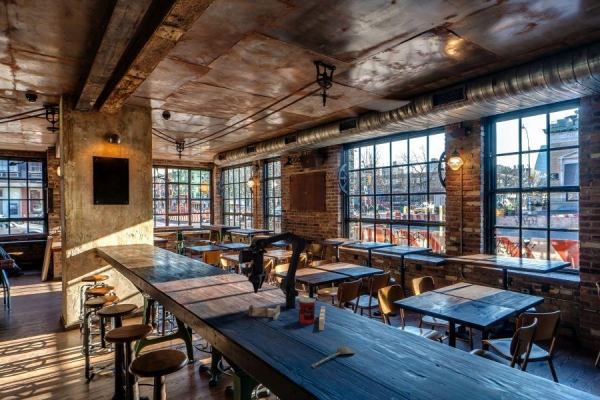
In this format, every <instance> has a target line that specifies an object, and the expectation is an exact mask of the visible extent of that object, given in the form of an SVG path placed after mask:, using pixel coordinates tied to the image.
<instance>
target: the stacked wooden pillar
mask: <svg viewBox="0 0 600 400" xmlns="http://www.w3.org/2000/svg"><path fill="white" fill-rule="evenodd" d="M280 313H281V305H280V304H279V305H278V304H277V306H276V307H275V308H269V305H266V307H265V308H264V307H254V304H250V305H249V307H248V317H263V318H264V317H265V318H273V319H272V320H273V321H277V319H278V318H279V315H280Z"/></svg>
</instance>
